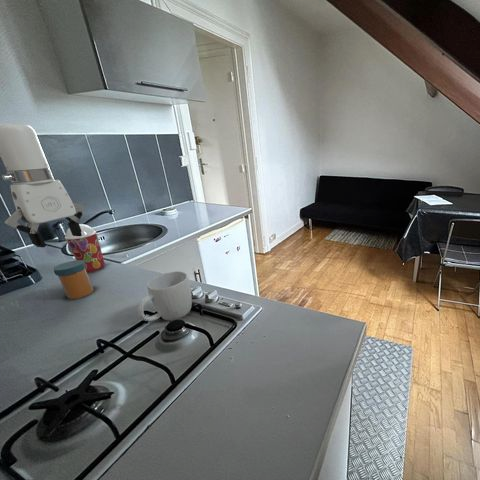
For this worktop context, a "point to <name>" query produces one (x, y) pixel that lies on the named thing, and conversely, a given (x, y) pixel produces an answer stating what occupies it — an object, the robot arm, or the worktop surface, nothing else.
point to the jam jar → (76, 284)
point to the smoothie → (86, 248)
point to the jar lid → (69, 268)
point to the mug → (168, 296)
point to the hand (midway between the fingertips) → (60, 240)
